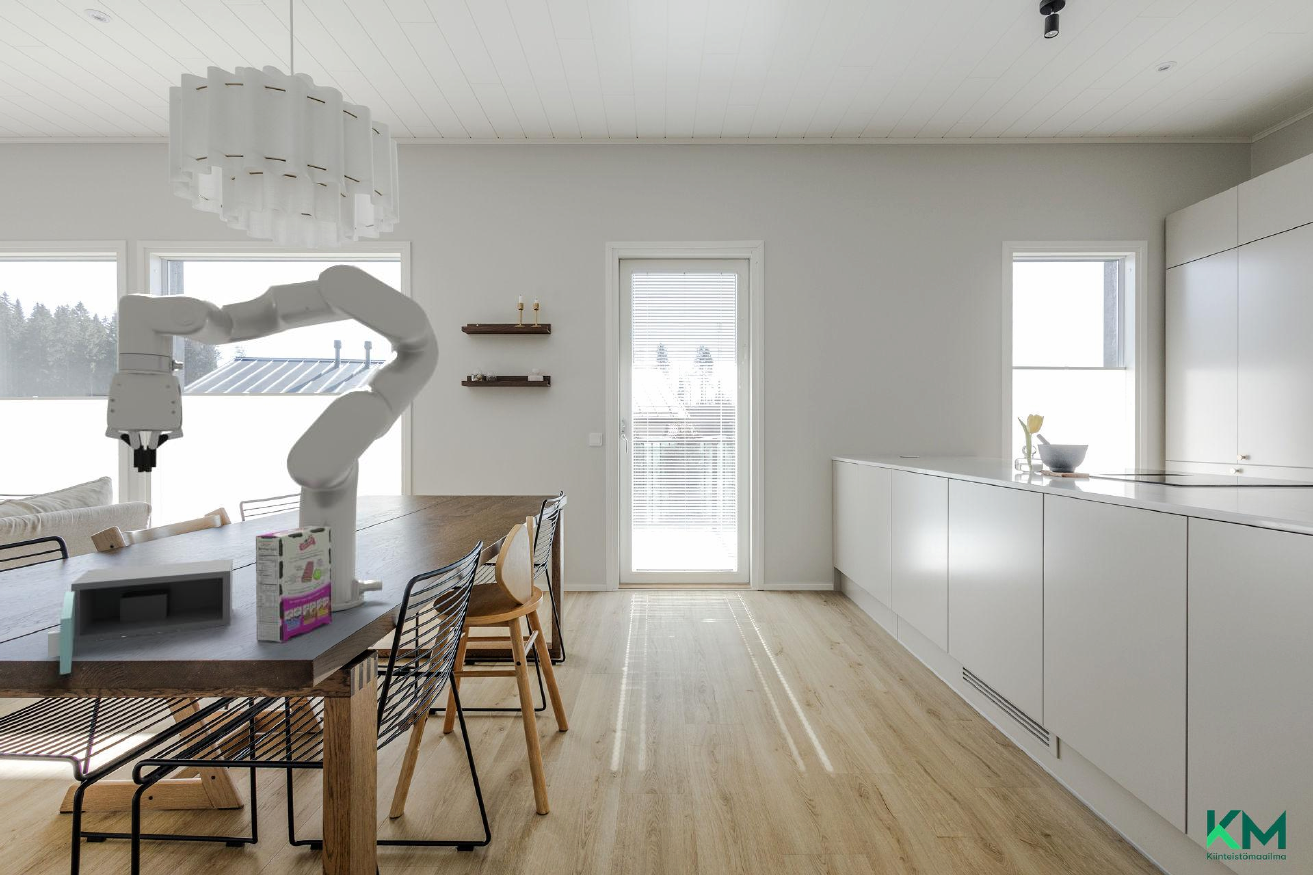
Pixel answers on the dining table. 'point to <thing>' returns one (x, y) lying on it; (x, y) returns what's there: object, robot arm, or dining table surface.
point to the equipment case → (152, 599)
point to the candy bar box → (293, 582)
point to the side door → (64, 634)
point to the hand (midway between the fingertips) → (145, 471)
